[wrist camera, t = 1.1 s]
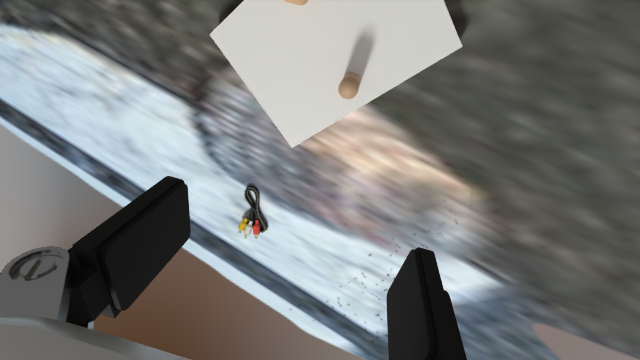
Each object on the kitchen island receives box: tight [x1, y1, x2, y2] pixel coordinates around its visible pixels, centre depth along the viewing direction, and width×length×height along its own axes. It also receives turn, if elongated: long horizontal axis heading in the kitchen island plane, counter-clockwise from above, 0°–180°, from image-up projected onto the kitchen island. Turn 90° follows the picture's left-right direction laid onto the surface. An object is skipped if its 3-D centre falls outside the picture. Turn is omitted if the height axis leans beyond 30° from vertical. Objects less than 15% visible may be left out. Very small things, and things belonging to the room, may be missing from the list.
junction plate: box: [209, 0, 462, 147], centre depth 28 cm, size 22×16×6 cm
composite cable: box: [238, 186, 267, 239], centre depth 45 cm, size 10×5×2 cm, turn 167°
